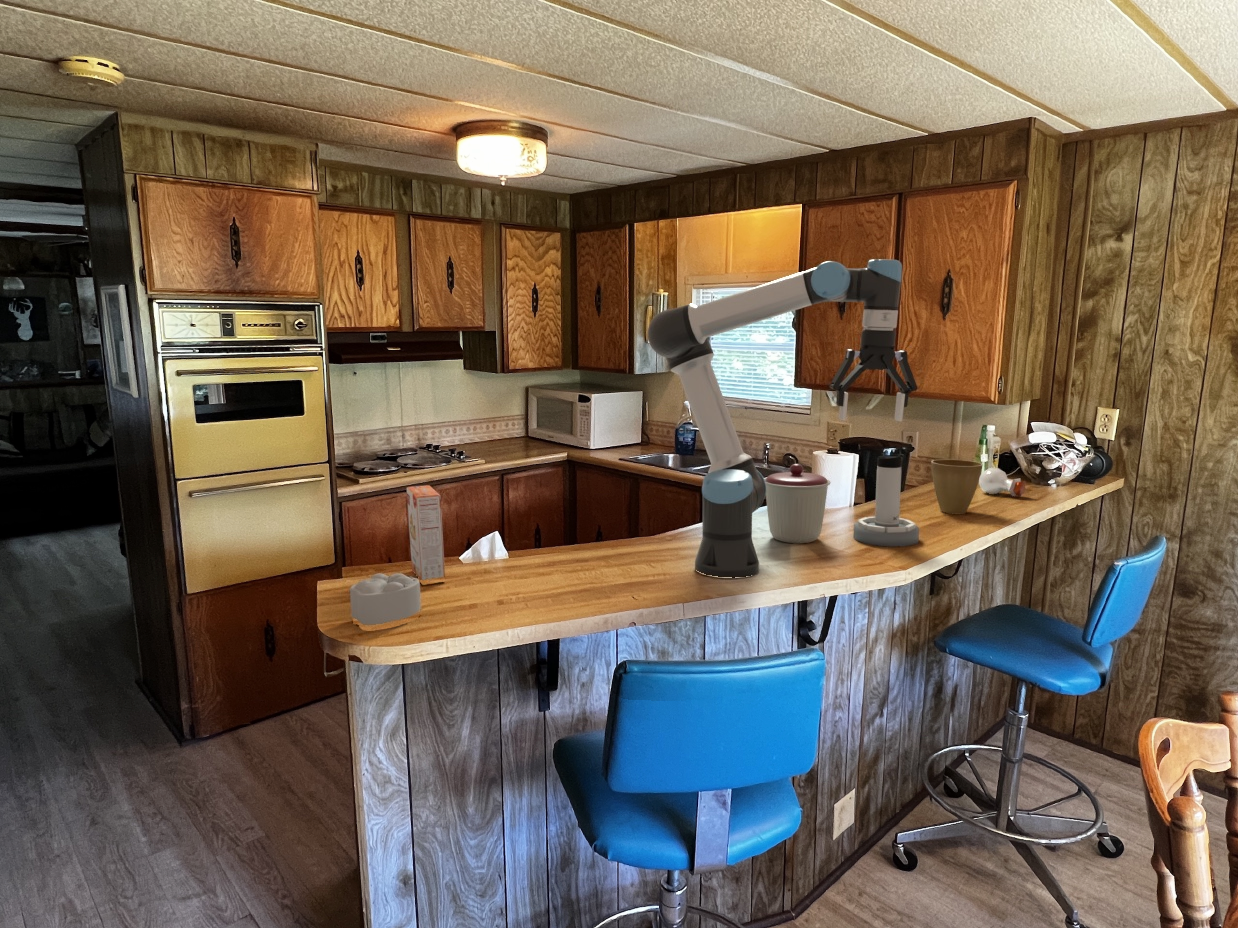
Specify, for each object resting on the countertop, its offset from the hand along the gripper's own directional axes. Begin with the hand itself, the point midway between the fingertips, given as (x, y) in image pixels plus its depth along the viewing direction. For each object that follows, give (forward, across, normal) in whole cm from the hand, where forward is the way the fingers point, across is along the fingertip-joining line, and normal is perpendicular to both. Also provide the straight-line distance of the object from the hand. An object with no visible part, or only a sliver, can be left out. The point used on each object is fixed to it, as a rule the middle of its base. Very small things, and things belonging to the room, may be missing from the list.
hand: (870, 420), depth 181 cm
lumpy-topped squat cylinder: (+37, -107, -28) cm, 116 cm away
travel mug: (+33, +17, +22) cm, 43 cm away
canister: (+38, -8, +25) cm, 46 cm away
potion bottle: (+38, +83, +78) cm, 120 cm away
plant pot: (+38, +53, +53) cm, 84 cm away
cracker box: (+39, -104, 0) cm, 111 cm away
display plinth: (+36, +17, +22) cm, 46 cm away
